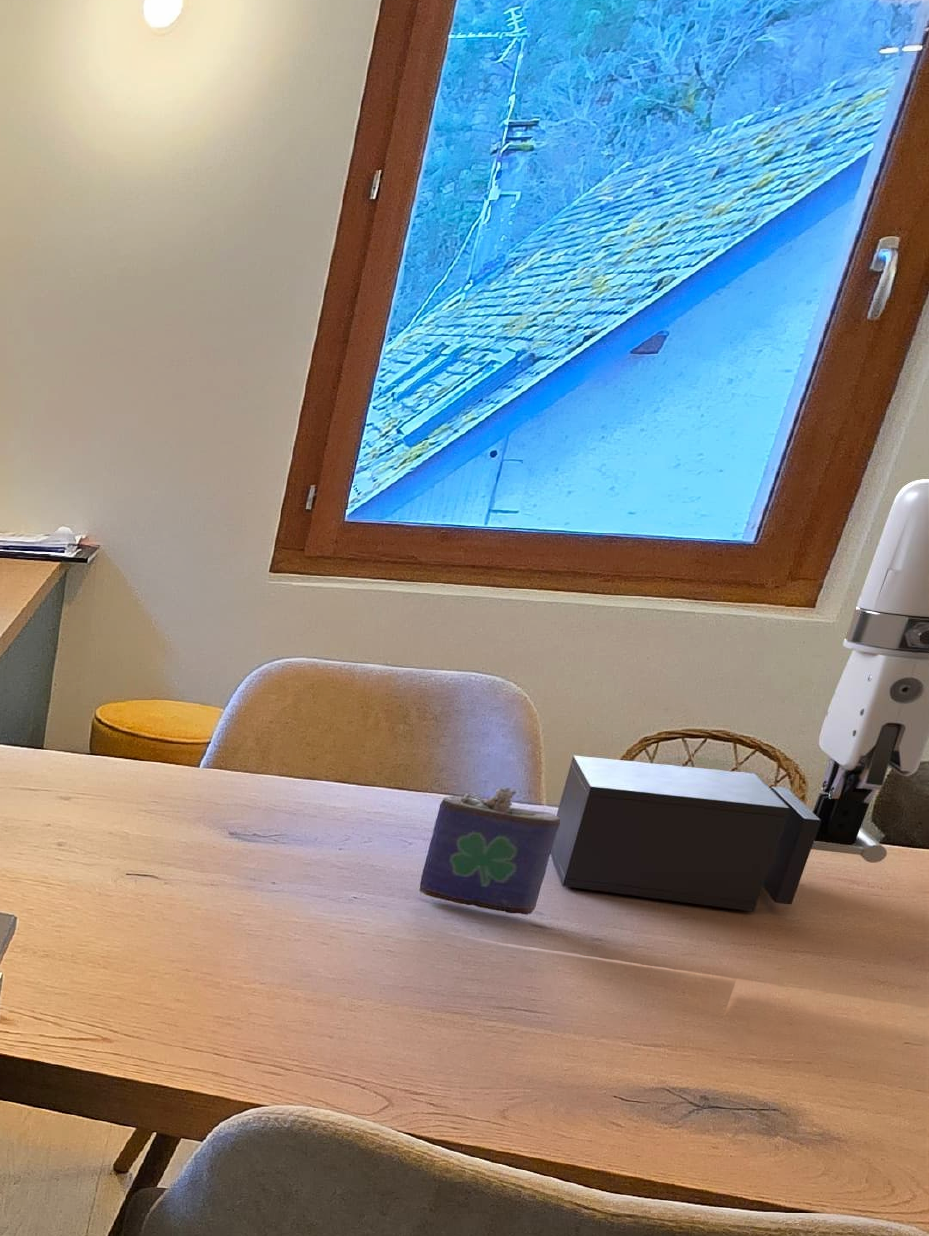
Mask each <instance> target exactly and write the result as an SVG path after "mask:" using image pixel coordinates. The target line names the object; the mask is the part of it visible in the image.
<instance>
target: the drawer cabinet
mask: <svg viewBox="0 0 929 1236" xmlns="http://www.w3.org/2000/svg"><path fill="white" fill-rule="evenodd" d="M788 812H789V807H788V806H787V805H786V804H785V803H784V802H783V801H782V800H781V799H780V798H779V797H778V796H777V795H776V794H775V793H774V792H773V791H772V790H771V788H770V787H769V786H768V785H767V784H766V783H765V781H763V780H762V779H761V778H760V777H759V776H758V775H757V774H756V773H751V772H742V771H732V770H724V769H723V770H722V769H712V768H701V767H694V766H693V767H692V766H683V765H682V766H681V765H671V764H664V763H663V764H662V763H652V762H642V761H633V760H625V759H624V760H623V759H613V758H605V757H603V758H602V757H593V756H583V755H573V756H572V758H571V761H570V765H569V769H568V773H567V776H566V779H565V783H564V786H563V789H562V794H561V797H560V801H559V805H558V809H557V812H556V814H555V815H556V816H558V817H559V819H560V825H559V828H558V830H557V832H556V837H555V840H554V843H553V846H552V850H551V854H550V856H551V860H552V862H553V866H554V868H555V871H556V873H557V876H558V878H559V880H560V883H561V885H562V887H566V888H567V887H568V888H574V889H582V890H589V891H597V892H604V893H611V894H617V895H618V894H620V895H626V896H635V897H642V898H649V899H656V900H664V901H673V902H678V903H679V902H680V903H685V904H686V903H687V904H693V905H702V906H707V907H708V906H709V907H716V908H723V909H724V908H725V909H732V910H740V911H747V912H755V910H756V907H757V905H758V902H759V898H760V896H761V893H762V890H763V884H764V881H765V879H766V876H767V873H768V870H769V867H770V864H771V861H772V858H773V855H774V852H775V850H776V847H777V844H778V841H779V838H780V835H781V832H782V829H783V826H784V823H785V821H786V818H787V817H786V816H787V815H788Z"/></svg>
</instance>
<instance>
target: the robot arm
mask: <svg viewBox="0 0 929 1236" xmlns="http://www.w3.org/2000/svg"><path fill="white" fill-rule="evenodd" d="M876 547H877V548H876V550H875V554H874V555H873V558H872V561H871V564H870V566H869V570H868V572H867V576H866V578H865V581H864V583H863V586H862V590H861V592H860V595H859V598H858V601H857V605H856V607H855V609H854V611H853V614H852V617H851V620H850V623H849V626H848V629H847V632H846V634H845V637H844V640H843V643H842V647H844V648H846V649H850V650H852V651H851V654H850V656H849V658H848V660H847V662H846V663H845V667H844V669H843V672H842V674H841V677H840V679H839V681H838V683H837V685H836V687H835V688H836V689H835V691H834V693H833V696H832V699H831V701H830V704H829V706H828V709H827V712H826V715H825V717H824V720H823V723H822V727H821V730H820V734H819V738H818V746H819V748H820V749H821V750H822V752H823V753H825V754H826V755H827V756H828V764H827V768H826V770H825V771H826V772H825V774H824V778H823V781H822V784H821V789H820V791H821V792H820V793H819V794H818V797H817V799H816V802H815V805H814V807H813V810H812V812H813V813H814V814H815V815H816V816H817V817H818V818H819V819H820V820H821V823H820V825H819V828H818V831H817V834H816V837H815V840H814V842H823V843H832V844H841V845H849V846H850V845H852V844H854V843H855V841H856V838H857V836H858V833H859V830H860V828H861V827H862V825H863V822H864V820H865V817H866V815H867V812H868V809H869V806H870V804H871V802H872V801H873V798H874V797H875V794H876V792H877V791H880V790H882V788H883V785H884V782H885V779H886V776H887V773H888V772H887V771H888V769H891V770H893V772H895V773H897V774H898V775H899V776H903V777H909V776H911V775H913V774H914V773H916V772H917V771H918V769H919V766H920V764H921V761H922V758H923V755H924V753H925V749H926V747H927V743H928V742H929V741H928V740H929V478H926V479H918V480H914V481H912V482H909V483H907V484H906V485H905V486H903V487H902V488H901V489H900V490H899V492H898V493H897V494H896V496H895V498H894V501H893V503H892V505H891V508H890V510H889V514H888V516H887V519H886V522H885V525H884V527H883V531H882V533H881V536H880V539H879V542H878V544H877V546H876Z"/></svg>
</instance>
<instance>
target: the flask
mask: <svg viewBox="0 0 929 1236" xmlns="http://www.w3.org/2000/svg"><path fill="white" fill-rule="evenodd" d="M495 793H496V794H495V796H494V797H489V798H487V799H483V798H482V797H479V796H475V797H474V798H475V799H474V798H473V797H471V794H470V793H466V794H464V795H463V796H454V795H453V796H452V795H451V796H445V797H444V798H443V799H442V801H441V802H440V804H439V808H438V812H437V815H436V819H435V823H434V826H433V831H432V836H431V840H430V843H429V846H428V850H427V855H426V857H425V862H424V866H423V869H422V874H421V877H420V882H419V890H418V891H419V893H420V894H424V895H425V896H428V897H431V898H435V899H440V900H442V901H443V900H444V901H447V902H451V903H454V904H458V905H466V906H474V907H477V908H480V909H486V910H487V909H488V910H490V911H498V912H505V913H506V914H507V913H508V914H520V915H526V916H528V915H530V914H532V913H533V912H534V910H535V909H536V907H537V903H538V899H539V895H540V892H541V887H542V884H543V881H544V879H545V876H546V872H547V866H548V863H549V859H550V856H551V850H552V846H553V843H554V840H555V837H556V832H557V830H558V828H559V825H560V819H559V817H558V816H556V815H557V814H554V813H551V812H546V811H539V810H538V811H537V810H532V809H531V810H530V809H525V808H518V807H517V808H515V807H511V806H512V805H513V803H512V802H511V799H512V798H513V795H516V794H517V791H516V790H515V789H512V788H511V789H510V788H509V787H505V788H503V787H502V788H496V790H495Z"/></svg>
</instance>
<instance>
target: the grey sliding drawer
mask: <svg viewBox="0 0 929 1236" xmlns="http://www.w3.org/2000/svg"><path fill="white" fill-rule="evenodd" d="M770 789H771V790H772V791H773V792H774V793H775V794H776V795H777V796H778V797H779V798H780V799H781V800H782V801H783V802H784V803H785V804H786V805H787V806H788V807H789V812H788V815H787V816H786V817H787V818H786V821H785V823H784V826H783V829H782V832H781V835H780V838H779V841H778V844H777V847H776V850H775V852H774V855H773V858H772V861H771V864H770V867H769V870H768V873H767V876H766V879H765V881H764V884H763V887H762V889H763V890H764V891H765V892H766V893H767V895H768V896H769V897H770V898H771V899H772V901H773V902H774V903H776V904H782V905H792V904H793V901H794V899H795V895H796V894H797V891H798V887H799V885H800V882H801V879H802V876H803V873H804V871H805V868H806V865H807V862H808V860H809V856H810V853H811V850H815V851H823V852H832V853H841V854H847V855H848V854H849V855H857V856H860V857H861V858H862V859H863V860H865V861H866V862H868V863H875V864H876V863H879V862H882V861H883V860H884V859H885V858H886V857H887V855H888V851H887V849H886V848H885V847H884V845H882V844H881V843H880V842H879V841H878V840H877V839H875V838H874V836H872V835H871V834H870V833H869V832H868V831H867V830H865V829H864V828H863V827H862V826H861V828H860V830H859V833H858V836H857V838H856V841H855V843H854V844H852V845H841V844H833V843H825V842H817V841H814V840H815V837H816V834H817V831H818V828H819V825H820V823H821V820H820V819H819V818H818V817H817V816H816V815H815V814H814V813H813V810H811V809H810V808H809V807H808V806H807V805H805V803H804V802H803V801H801V799H800V798H799V797H798V796H797V795H795V794H794V793H793V792H792V791H791V790H790V789H789V788H788V787H782V786H771V788H770Z"/></svg>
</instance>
